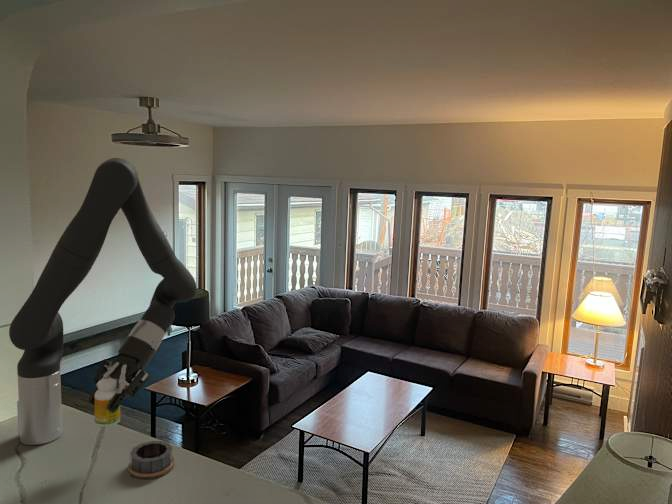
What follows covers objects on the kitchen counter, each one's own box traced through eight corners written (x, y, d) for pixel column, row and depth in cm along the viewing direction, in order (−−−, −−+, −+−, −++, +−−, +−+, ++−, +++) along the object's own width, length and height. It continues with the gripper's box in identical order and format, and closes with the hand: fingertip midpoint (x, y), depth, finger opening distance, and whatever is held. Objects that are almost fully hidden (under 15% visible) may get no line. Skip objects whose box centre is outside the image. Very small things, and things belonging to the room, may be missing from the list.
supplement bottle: (110, 428, 113) (110, 387, 112) (89, 425, 114) (88, 384, 113) (125, 418, 119) (125, 378, 117) (104, 415, 120) (104, 375, 118)
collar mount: (118, 471, 115) (118, 454, 114) (152, 451, 124) (152, 436, 123) (150, 484, 110) (150, 467, 110) (183, 462, 119) (183, 446, 119)
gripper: (112, 329, 124) (68, 393, 115) (155, 340, 118) (113, 408, 109) (129, 345, 129) (89, 406, 120) (172, 356, 123) (132, 422, 114)
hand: (100, 407), depth 114 cm, fingers closed on supplement bottle, 5 cm apart
